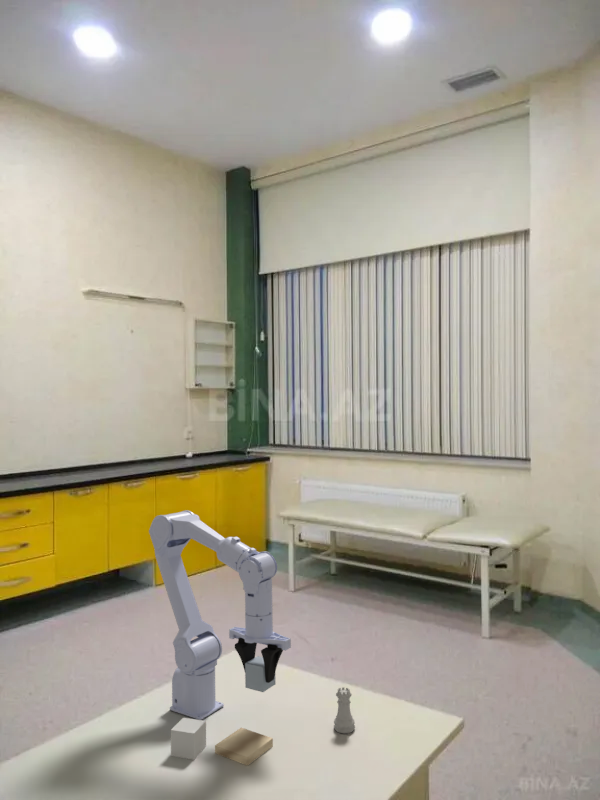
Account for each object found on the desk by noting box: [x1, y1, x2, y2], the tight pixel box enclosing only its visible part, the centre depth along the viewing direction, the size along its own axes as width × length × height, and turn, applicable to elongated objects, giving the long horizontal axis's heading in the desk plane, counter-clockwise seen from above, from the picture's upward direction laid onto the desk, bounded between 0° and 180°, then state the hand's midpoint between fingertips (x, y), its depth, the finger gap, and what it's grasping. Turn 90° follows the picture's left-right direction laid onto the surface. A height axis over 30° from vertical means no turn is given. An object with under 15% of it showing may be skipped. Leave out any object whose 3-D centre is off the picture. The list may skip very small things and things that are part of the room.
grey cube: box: [170, 717, 207, 761], centre depth 118 cm, size 5×5×5 cm
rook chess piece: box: [333, 686, 356, 735], centre depth 125 cm, size 4×4×8 cm
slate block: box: [244, 655, 277, 693], centre depth 126 cm, size 4×4×5 cm
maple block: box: [214, 727, 274, 766], centre depth 118 cm, size 8×8×2 cm
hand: (259, 678), depth 126 cm, fingers closed on slate block, 4 cm apart
